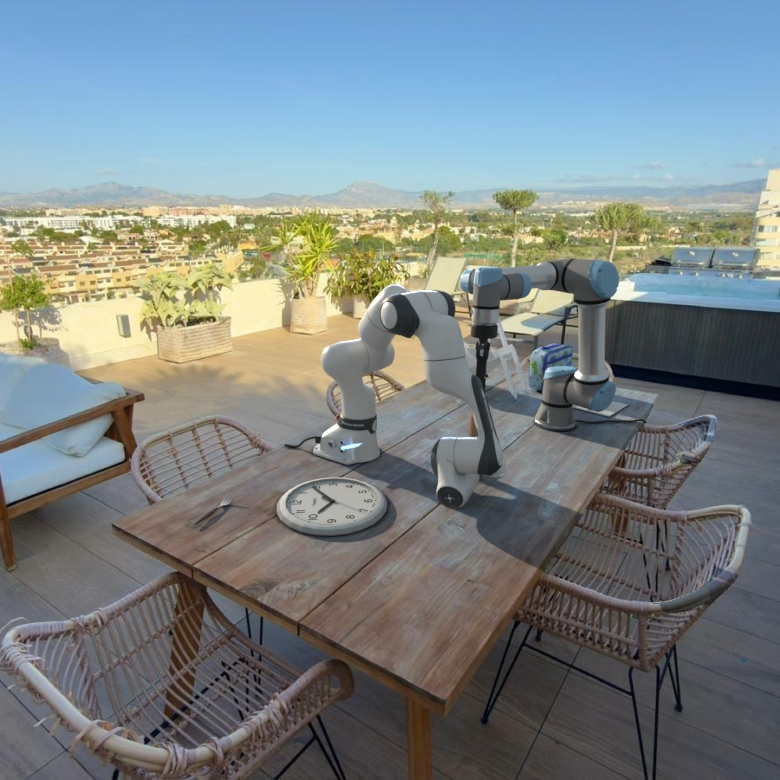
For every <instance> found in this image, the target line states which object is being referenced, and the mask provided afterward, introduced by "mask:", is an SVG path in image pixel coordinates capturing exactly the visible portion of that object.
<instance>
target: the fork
mask: <svg viewBox="0 0 780 780" xmlns="http://www.w3.org/2000/svg"><path fill="white" fill-rule="evenodd" d="M236 494H237V491H233V492H232V490H230V491H228V492H227V494H226V496H225V497H224V498H223V500H222V501H221V502H220V504H219V505H217V506H216V507H215V508H213V509H211V510H209V511H208V512H207V513H205V514H204V515H203V516H202V517H200V519H198V520H197V521H196V522H195V523H194V524H193V525H194V526H196V525H199V524H200V523H201V522H202V521H204V520H206V519H207V518H209V517H210V516H212V515H213V514H214V513H216V511H218V509H219V508H220V507H226V506H229V505H230V504H231V503H232V501H233V500H234V497H235V496H236Z"/></svg>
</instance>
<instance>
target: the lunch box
mask: <svg viewBox="0 0 780 780" xmlns="http://www.w3.org/2000/svg"><path fill="white" fill-rule="evenodd" d="M573 356H574V355H573V347H572V346H571V345H566V344H560V343H551V344H548V345H544V346H541V347H538V348H536V349H534V350H533V351H532V353H531V355H530V359H529V370H528V371H529V372H528V389H531V390H536V391H541V392H542V391H543V381H544V379H543V378H544V375H545V371H546V369H547V368H549V367H555V366H571V367H572V365H573V363H572V362H573Z"/></svg>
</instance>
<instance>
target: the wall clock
mask: <svg viewBox="0 0 780 780" xmlns="http://www.w3.org/2000/svg"><path fill="white" fill-rule="evenodd" d="M387 509H388V500H387V498H386V496H385V494H384V493H383V492H382V491H381V490H380V489H379V488H377V487H376V486H374V485H372V484H371V483H369V482H365V481H362V480H359V479H355V478H349V477H338V476H337V477H335V476H333V477H332V476H331V477H322V478H317V479H312V480H307V481H305V482H302V483H299V484H297V485H295V486H293V487H292V488H290V489H288V490H287V491H286V492H285V493H284V494H283V495H281V496H280V498H279V499H278V502H277V503H276V515H277V517H278V518H279V520H280V521H281V522H282V523H283V524H285V525H286V526H287V527H288V528H290V529H293V530H295V531H297V532H299V533H303V534H308V535H312V536H327V537H328V536H329V537H331V536H332V537H333V536H342V535H350V534H352V533H356V532H361V531H363V530H366V529H368V528H369V527H372V526H373V525H375V524H376V523H378V522H379V521H380V520H381V519H382V518H383V517H384V516H385V514H386V512H387Z"/></svg>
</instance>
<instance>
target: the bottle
mask: <svg viewBox="0 0 780 780" xmlns="http://www.w3.org/2000/svg"><path fill="white" fill-rule="evenodd" d="M468 426H469V427H468V437H478V432H477V428H476V425H475V421H474V417H473V414H472V410H471V411H470V415H469V425H468Z"/></svg>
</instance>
